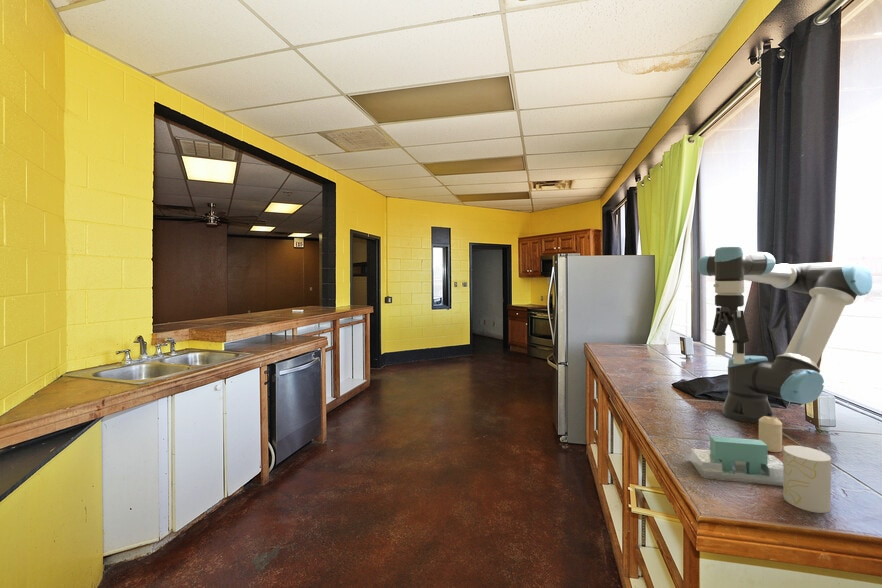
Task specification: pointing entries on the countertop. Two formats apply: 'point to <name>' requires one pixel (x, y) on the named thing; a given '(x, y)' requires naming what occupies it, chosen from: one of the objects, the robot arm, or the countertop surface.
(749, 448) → the teal notched block
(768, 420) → the candle
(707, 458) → the white block holder tray
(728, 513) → the countertop surface
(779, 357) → the robot arm
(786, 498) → the cup
